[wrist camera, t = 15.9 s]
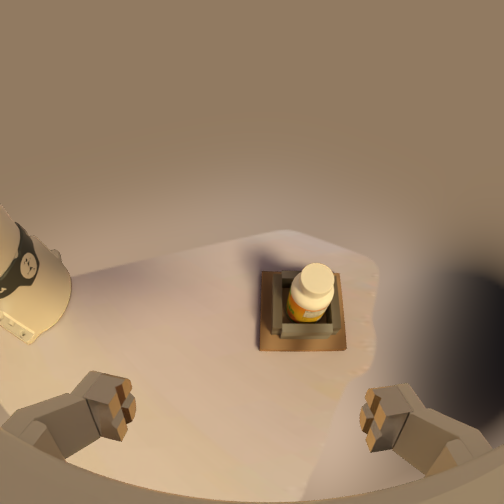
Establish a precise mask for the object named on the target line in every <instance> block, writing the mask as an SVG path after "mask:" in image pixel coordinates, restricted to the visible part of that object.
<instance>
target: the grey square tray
mask: <svg viewBox="0 0 504 504" xmlns="http://www.w3.org/2000/svg"><path fill="white" fill-rule="evenodd" d="M300 272H302V271H282V272H271V271H262V284H261V321H260V351H343V350H346V349H347V347H346V334H345V322H344V311H343V301H342V292H341V283H340V275H339V273H333V275H334V285H333V286H334V295H333V298H332V300H331V302H330V304H329V306H328V307H327V309H326V311H325V312H324V314H323V316H322V317H321V319H320V320H319V321H318V322H317V323H316V324H294V323H292V322H291V321H290V319H289V318H288V316H287V314H286V303H287V299H288V296H289V292H290V289H291V285H292V282H293V280H294V278H295V277H296V276H297V275H298V274H299V273H300Z"/></svg>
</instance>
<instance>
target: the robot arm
mask: <svg viewBox="0 0 504 504" xmlns="http://www.w3.org/2000/svg"><path fill="white" fill-rule="evenodd" d="M70 294H71V279H70V275H69V272H68V271H67V269H66V268H65V267H64V265H63V264H62V261H61V255H60V253H59V252H58V251H57V250H55V249H54V250H49V249H48V248H47V247H46V246H45V245H44V244H43V243H42V242H41V241H40V240H39V239H38V238H37V237H36V236H34V235H33V236H29V235H28V234H27V232H26V231H25V229H23V228H22V227H21V226H20V225H19V224H18V223H16V222H14V221H13V220H12V219H11V217H10V216H9V215H8V213H7V212H6V211H5V209H4V208H3V207H2V205H1V204H0V325H1V326H2V327H3V328H5V329H6V330H7V331H9V332H10V333H12V334H13V335H15V336H16V337H17V338H19V339H20V340H22V341H23V342H25V343H26V344H31V343H33V342H34V341H35V339H36V338H37V337H38V336H39V334H41V333H42V332H44V331H46V330H48V329H49V328H51V327H52V326H53V325H54V324H55V323H56V322H57V321H58V320H59V319H60V317H61V316H62V314H63V313H64V311H65V309H66V307H67V305H68V302H69V298H70ZM24 334H25V335H24ZM131 390H132V385H131V381H130V380H129V379H127V378H123V377H118V376H114V375H110V374H105V373H101V372H97V371H90V372H89V373H88V374H87V375H86V376H85V377H84V379H83V380H82V381H81V382H80V383H79V384H78V385H77V387H76V388H75V389H74V390H73V391H72V392H71V394H68V393H65V394H63V395H60V396H57V397H54V398H51V399H48V400H45V401H43V402H40V403H37V404H34V405H31V406H27V407H24V408H21V409H18V410H16V411H15V413H14V414H13V415H12V416H11V417H10V418H9V419H8V420H7V421H6V422H5V423H4V424H3V425H2V426H1V427H0V504H504V444H503V445H501V446H499V447H497V448H495V449H492V447H491V446H490V445H489V443H488V442H487V440H486V439H485V438H484V437H483V435H482V434H481V433H480V431H479V430H478V429H475V428H473V427H470V426H468V425H466V424H464V423H461V422H459V421H457V420H454V419H452V418H450V417H448V416H446V415H443V414H441V413H439V412H437V411H434V410H433V409H430V408H429V409H426V408H425V406H424V405H423V404H422V402H421V401H420V399H419V398H418V396H417V395H416V393H415V392H414V391H413V389H412V388H411V386H410V385H409V384H407V383H404V384H398V385H394V386H387V387H379V388H371V389H368V391H367V392H366V395H365V399H366V401H367V403H366V404H365V405H364V406H362V408H361V412H360V426H361V429H362V431H363V432H365V433H366V434H367V437H366V442H367V445H368V447H369V450H370V452H371V453H372V452H378V451H384V450H390V449H393V451H394V452H395V453H397V454H398V455H399V456H401V457H402V458H403V459H405V460H406V461H407V462H408V463H410V464H411V465H412V466H414V467H415V468H416V469H418V470H419V471H420V472H422V473H423V474H425V477H424V478H423V479H420V480H417V481H413V482H409V483H406V484H403V485H399V486H395V487H391V488H387V489H382V490H378V491H374V492H368V493H363V494H358V495H352V496H346V497H339V498H332V499H323V500H313V501H299V502H237V501H223V500H212V499H204V498H196V497H189V496H183V495H177V494H171V493H166V492H161V491H157V490H152V489H148V488H144V487H140V486H136V485H132V484H128V483H125V482H121V481H118V480H115V479H111V478H108V477H105V476H102V475H99V474H96V473H93V472H91V471H88V470H85V469H83V468H80V467H77V466H75V465H73V464H70V463H68V462H66V460H65V459H66V458H68V457H69V456H71V455H73V454H74V453H76V452H78V451H79V450H81V449H83V448H84V447H86V446H88V445H89V444H91V443H92V442H94V441H96V440H97V439H99V438H100V436H101V437H105V438H108V439H112V440H116V441H121V442H122V440H123V438H124V436H125V434H126V432H127V430H128V428H127V425H126V424H128V423H130V422H132V421H133V419H134V417H135V412H136V401H135V397H134V396H133V395H132V394H131V393H130V391H131Z"/></svg>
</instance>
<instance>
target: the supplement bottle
mask: <svg viewBox="0 0 504 504" xmlns="http://www.w3.org/2000/svg"><path fill="white" fill-rule="evenodd" d="M333 285H334V275H333V273H332V271H331V270H330V269H329V268H328V267H327V266H325V265H323V264H320V263H312V264H309V265H307V266H306V267H304V269H303V270H302V272H300V273H299V274H298V275H297V276H296V277H295V278H294V280H293V282H292V285H291V289H290V292H289V296H288V299H287V303H286V314H287V316H288V318H289V319H290V321H291V322H292V323H294V324H316V323H317V322H318V321H319V320H320V319H321V317H322V316H323V314H324V312H325V311H326V309H327V307H328V306H329V304H330V302H331V300H332V298H333V295H334V286H333Z"/></svg>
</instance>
